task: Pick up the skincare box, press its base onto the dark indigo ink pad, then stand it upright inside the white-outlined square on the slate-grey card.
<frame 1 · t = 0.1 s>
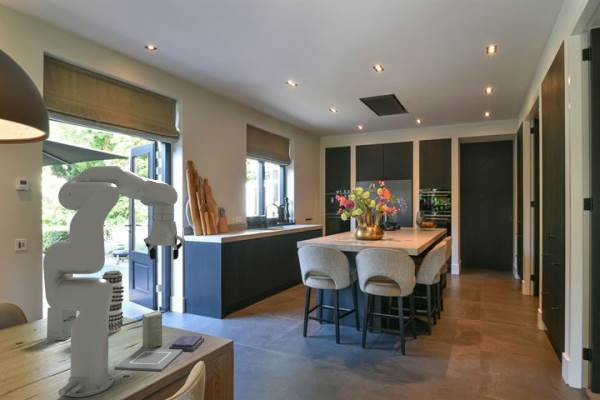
hand: (164, 259, 150), 31 cm above the table, tool pointing down, fingers open, 9 cm apart
ink pad: (187, 345, 137), on the table
decorative candle: (111, 330, 155), on the table
skincare box: (152, 346, 136), on the table
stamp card: (150, 359, 124), on the table
supplement box: (61, 337, 147), on the table
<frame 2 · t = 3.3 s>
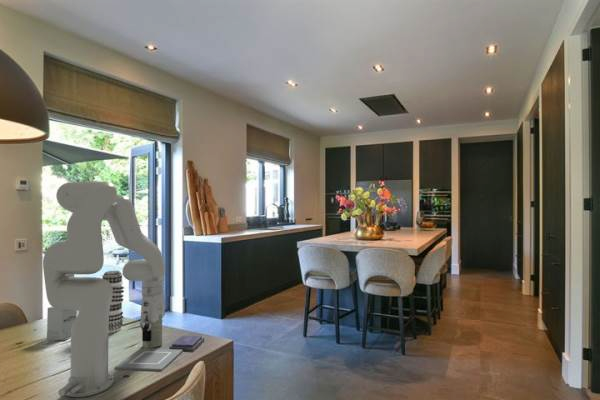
hand: (152, 336, 136), 3 cm above the table, tool pointing down, fingers closed on skincare box, 7 cm apart
skincare box: (152, 346, 136), on the table, touching gripper
everything else where it was.
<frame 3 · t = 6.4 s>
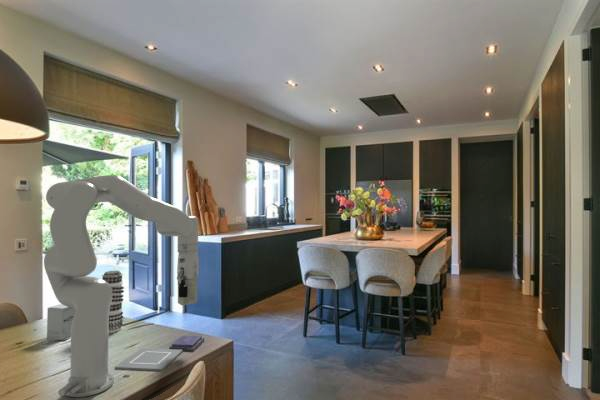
hand: (187, 294, 137), 19 cm above the table, tool pointing down, fingers closed on skincare box, 7 cm apart
skincare box: (187, 303, 137), point 16 cm above the table, touching gripper
everything else where it was.
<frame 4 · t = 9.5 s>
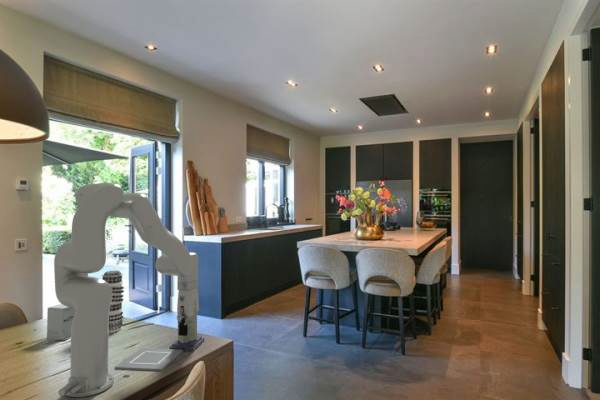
hand: (187, 331, 137), 5 cm above the table, tool pointing down, fingers closed on skincare box, 7 cm apart
skincare box: (187, 340, 137), point 2 cm above the table, touching gripper, ink pad
everything else where it was.
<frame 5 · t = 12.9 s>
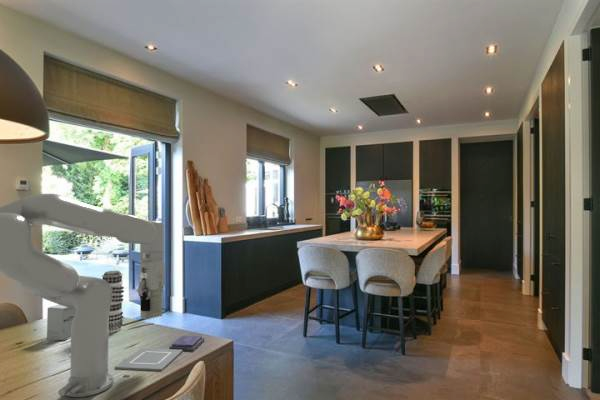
hand: (151, 307, 124), 18 cm above the table, tool pointing down, fingers closed on skincare box, 7 cm apart
skincare box: (151, 317, 124), point 14 cm above the table, touching gripper
everything else where it was.
when the fingers open (5 cm above the table, at t = 15.7 s): skincare box stays where it is, resting on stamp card.
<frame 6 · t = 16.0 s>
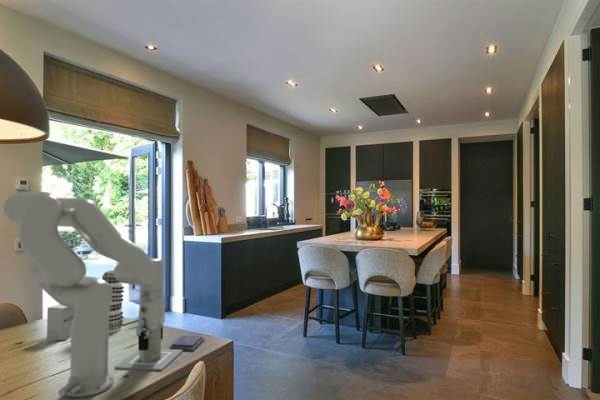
hand: (151, 344, 124), 5 cm above the table, tool pointing down, fingers open, 9 cm apart
skincare box: (149, 358, 123), resting on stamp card
everything else where it was.
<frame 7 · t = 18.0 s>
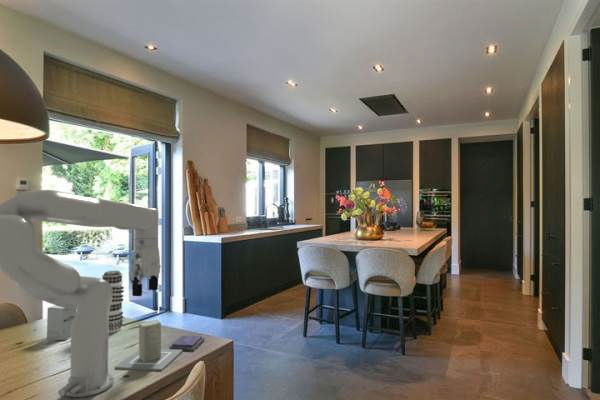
hand: (145, 292, 125), 23 cm above the table, tool pointing down, fingers open, 9 cm apart
nothing on the table moved.
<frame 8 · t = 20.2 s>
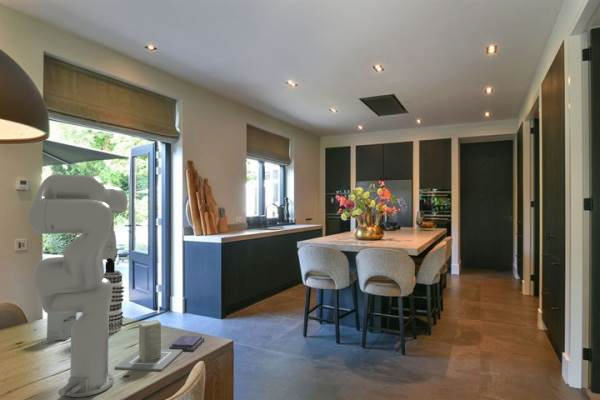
hand: (101, 275, 129), 28 cm above the table, tool pointing down, fingers open, 9 cm apart
nothing on the table moved.
at the end: skincare box inside the target area on the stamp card (0.4 cm from its centre), point 0.4 cm above the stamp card's base; skincare box tilted 0°; the gripper is holding nothing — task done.
